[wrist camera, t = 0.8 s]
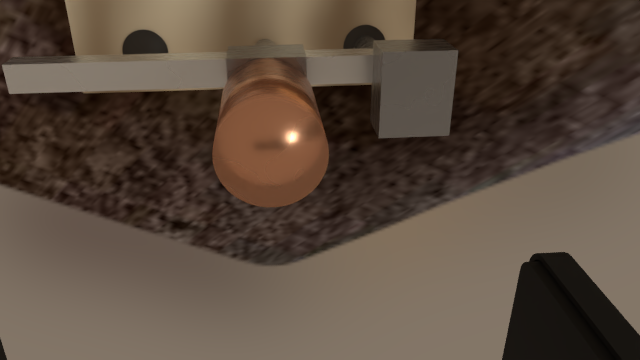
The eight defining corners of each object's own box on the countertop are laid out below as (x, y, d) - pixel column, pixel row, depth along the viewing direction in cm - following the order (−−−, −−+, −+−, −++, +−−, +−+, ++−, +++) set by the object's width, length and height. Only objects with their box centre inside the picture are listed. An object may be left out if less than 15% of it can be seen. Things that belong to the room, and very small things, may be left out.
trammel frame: (399, -2, 33) (470, 50, 22) (396, 58, 35) (460, 135, 24) (74, 3, 32) (-24, 62, 21) (86, 66, 33) (1, 152, 22)
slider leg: (294, 1, 33) (329, 99, 17) (296, 63, 34) (328, 204, 19) (231, 2, 32) (207, 103, 17) (235, 64, 34) (217, 210, 18)
